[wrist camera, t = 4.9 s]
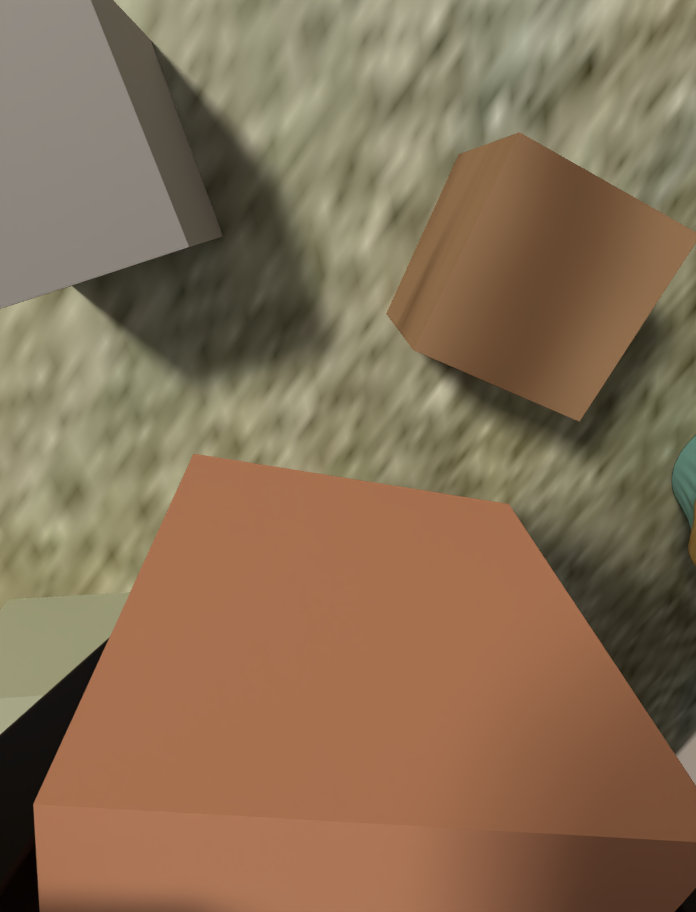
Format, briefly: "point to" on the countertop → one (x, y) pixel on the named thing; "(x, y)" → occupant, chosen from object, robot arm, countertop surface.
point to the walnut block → (535, 274)
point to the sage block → (48, 644)
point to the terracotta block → (356, 721)
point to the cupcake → (687, 489)
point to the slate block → (88, 150)
